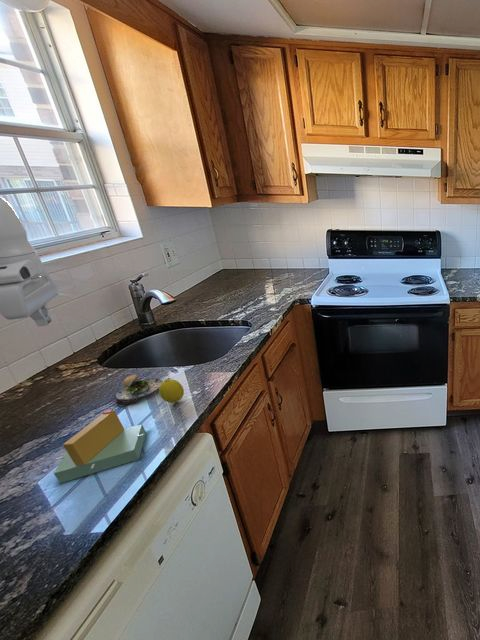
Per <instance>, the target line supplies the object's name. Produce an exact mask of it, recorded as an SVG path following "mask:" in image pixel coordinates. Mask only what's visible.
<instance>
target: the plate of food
mask: <svg viewBox="0 0 480 640" xmlns="http://www.w3.org/2000/svg"><path fill="white" fill-rule="evenodd" d="M162 382H163V381H162V379H160V378H145V379H139V375H136V374H133V375H129V376H126V377H125V378H124V380H123V385H122V386H123V387H121V388H120V389H118V390H117V391H116V392H115V394H114V398H115V402H116V403H118V404H120V405H130V404H135V403H137V399H141V398H144V397H147V396H150V395H151V394H153V393H154V392H156V391H157V390H159V387H160V385H161V383H162Z"/></svg>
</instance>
